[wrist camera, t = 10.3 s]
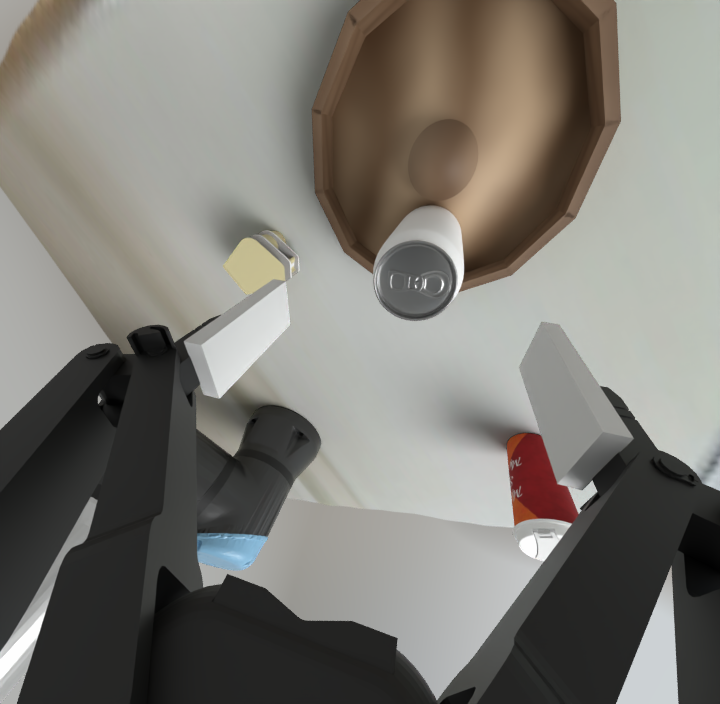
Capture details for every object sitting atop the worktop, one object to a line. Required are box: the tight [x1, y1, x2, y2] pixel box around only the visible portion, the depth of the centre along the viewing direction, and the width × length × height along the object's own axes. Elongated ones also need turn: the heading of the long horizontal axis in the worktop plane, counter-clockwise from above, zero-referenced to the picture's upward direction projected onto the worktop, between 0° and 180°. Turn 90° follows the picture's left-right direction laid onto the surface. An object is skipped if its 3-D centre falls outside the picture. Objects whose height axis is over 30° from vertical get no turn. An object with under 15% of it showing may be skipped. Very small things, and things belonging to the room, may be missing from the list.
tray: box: [312, 0, 621, 292], centre depth 24 cm, size 22×22×4 cm
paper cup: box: [507, 433, 579, 561], centre depth 36 cm, size 8×8×14 cm
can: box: [373, 205, 464, 321], centre depth 23 cm, size 6×6×12 cm
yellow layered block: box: [223, 230, 299, 294], centre depth 33 cm, size 10×9×6 cm
